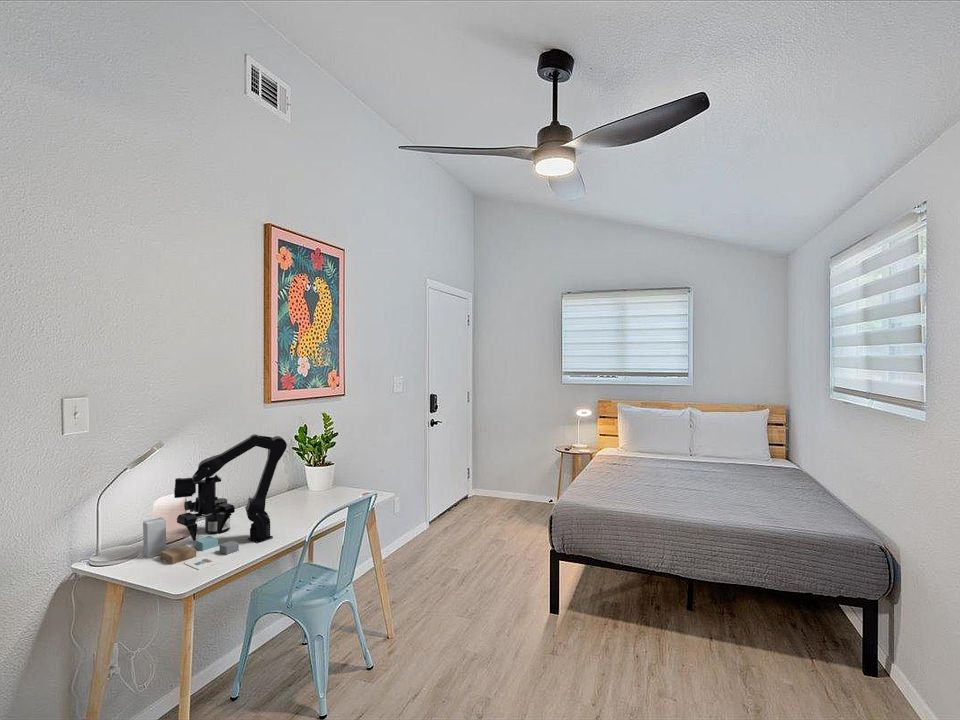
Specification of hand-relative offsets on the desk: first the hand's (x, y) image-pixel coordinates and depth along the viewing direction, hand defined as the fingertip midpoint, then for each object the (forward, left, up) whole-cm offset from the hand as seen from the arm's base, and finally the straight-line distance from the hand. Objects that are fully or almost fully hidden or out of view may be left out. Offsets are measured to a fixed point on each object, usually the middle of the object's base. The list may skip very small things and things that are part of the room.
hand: (206, 537), depth 191 cm
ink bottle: (-12, -13, -4) cm, 18 cm away
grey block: (-2, +11, -4) cm, 12 cm away
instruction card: (+9, +13, -4) cm, 16 cm away
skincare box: (+14, -8, -4) cm, 17 cm away
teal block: (0, 0, -4) cm, 4 cm away
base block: (+11, +2, -4) cm, 12 cm away
